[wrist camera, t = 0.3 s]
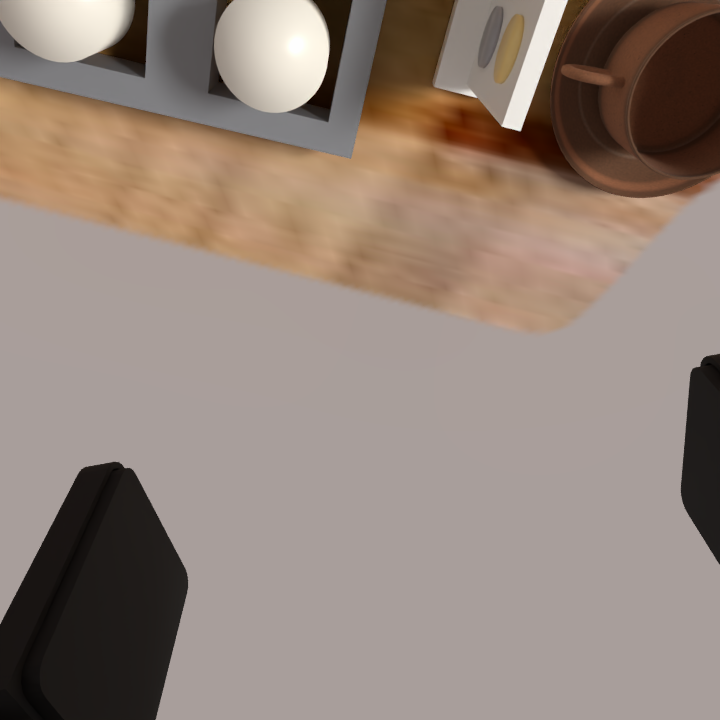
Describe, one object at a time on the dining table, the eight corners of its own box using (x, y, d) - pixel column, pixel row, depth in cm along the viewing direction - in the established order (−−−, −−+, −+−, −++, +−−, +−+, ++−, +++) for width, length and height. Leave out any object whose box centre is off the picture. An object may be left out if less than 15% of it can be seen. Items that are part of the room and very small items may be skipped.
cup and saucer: (545, 205, 38) (577, 246, 33) (535, -27, 31) (572, -21, 26) (756, 163, 37) (823, 200, 32) (791, -86, 30) (882, -92, 25)
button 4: (234, -30, 28) (220, -27, 25) (339, -2, 29) (338, 5, 26) (221, 83, 31) (208, 98, 28) (319, 107, 32) (316, 124, 29)
